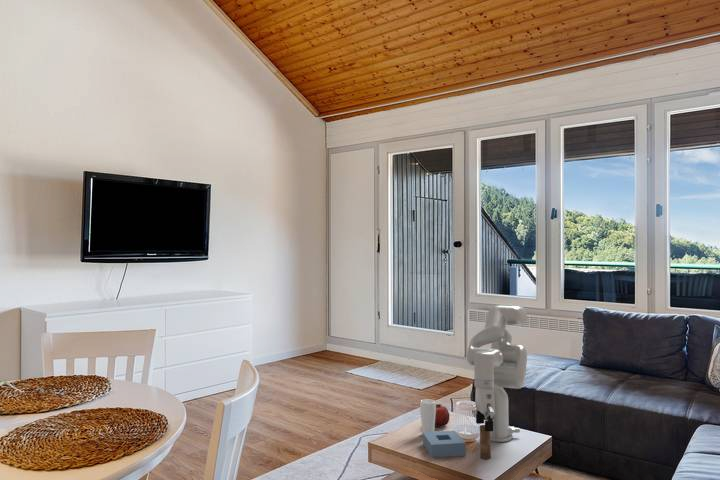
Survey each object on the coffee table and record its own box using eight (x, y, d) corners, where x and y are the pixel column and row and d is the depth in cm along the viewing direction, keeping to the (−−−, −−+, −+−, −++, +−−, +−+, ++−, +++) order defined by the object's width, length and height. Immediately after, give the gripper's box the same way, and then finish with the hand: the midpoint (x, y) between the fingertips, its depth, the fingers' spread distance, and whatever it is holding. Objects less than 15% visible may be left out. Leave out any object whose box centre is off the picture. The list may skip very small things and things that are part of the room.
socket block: (455, 442, 223) (454, 430, 223) (465, 455, 209) (465, 442, 209) (422, 444, 221) (422, 432, 221) (431, 457, 207) (431, 444, 207)
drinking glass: (432, 431, 236) (431, 398, 236) (438, 436, 229) (438, 402, 229) (418, 433, 234) (417, 399, 234) (424, 438, 227) (424, 404, 227)
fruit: (439, 431, 236) (439, 409, 236) (423, 425, 244) (423, 404, 244) (455, 426, 243) (454, 404, 243) (438, 420, 251) (438, 399, 251)
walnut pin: (488, 454, 209) (487, 424, 209) (492, 458, 205) (491, 428, 205) (478, 455, 208) (478, 425, 209) (482, 459, 204) (481, 428, 205)
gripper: (501, 388, 199) (502, 434, 198) (485, 378, 216) (485, 420, 215) (482, 388, 198) (483, 434, 197) (467, 378, 215) (468, 420, 214)
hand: (484, 427), depth 206 cm, fingers open, 9 cm apart
